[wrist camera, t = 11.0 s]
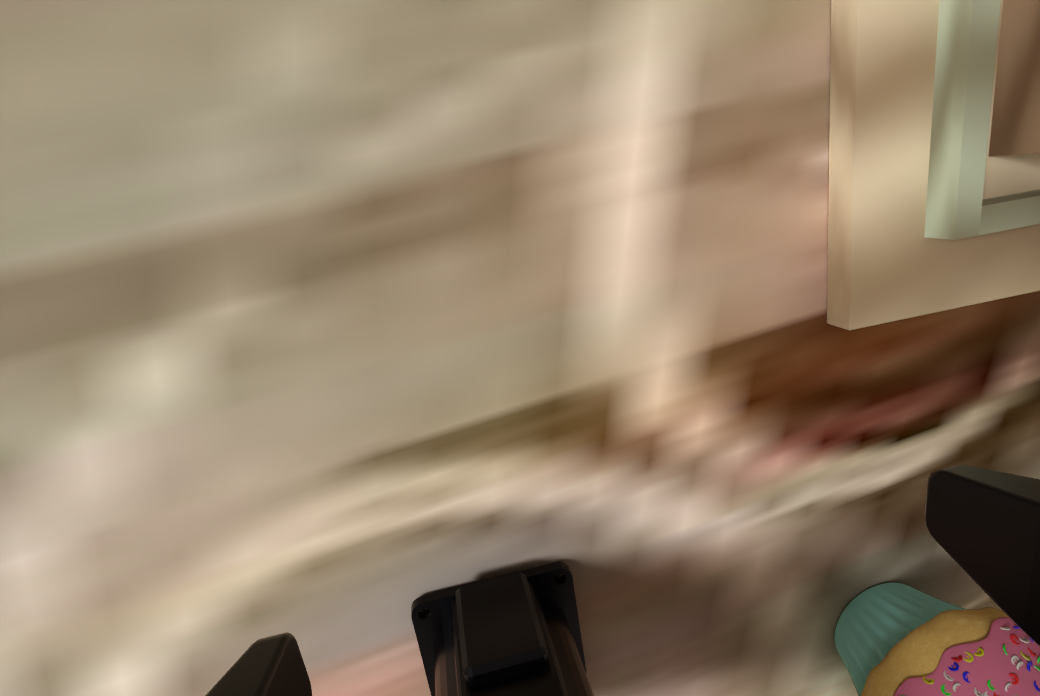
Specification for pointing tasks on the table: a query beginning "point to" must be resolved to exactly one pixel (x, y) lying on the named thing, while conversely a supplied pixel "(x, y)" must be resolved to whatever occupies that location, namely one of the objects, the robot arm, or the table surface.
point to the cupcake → (933, 647)
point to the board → (922, 165)
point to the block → (1017, 81)
